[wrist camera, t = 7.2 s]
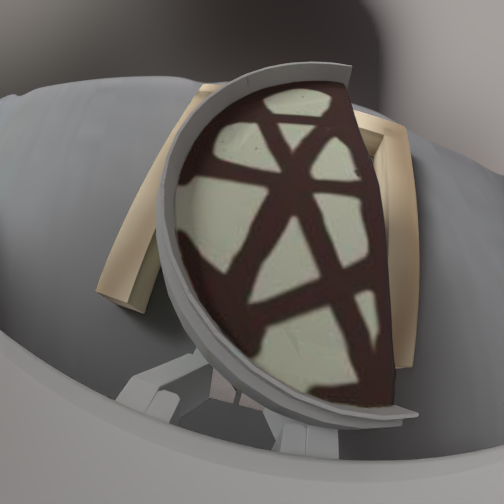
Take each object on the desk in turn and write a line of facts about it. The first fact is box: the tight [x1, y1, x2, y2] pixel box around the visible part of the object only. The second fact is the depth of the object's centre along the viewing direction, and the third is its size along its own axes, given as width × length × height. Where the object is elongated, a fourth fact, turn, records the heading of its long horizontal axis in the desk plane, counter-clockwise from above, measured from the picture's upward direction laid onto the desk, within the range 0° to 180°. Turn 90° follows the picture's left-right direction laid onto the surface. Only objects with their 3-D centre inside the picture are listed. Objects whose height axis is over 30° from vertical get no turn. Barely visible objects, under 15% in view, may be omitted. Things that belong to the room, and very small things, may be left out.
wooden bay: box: [95, 84, 419, 369], centre depth 17 cm, size 16×17×2 cm
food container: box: [156, 62, 419, 430], centre depth 11 cm, size 12×6×10 cm, turn 177°
